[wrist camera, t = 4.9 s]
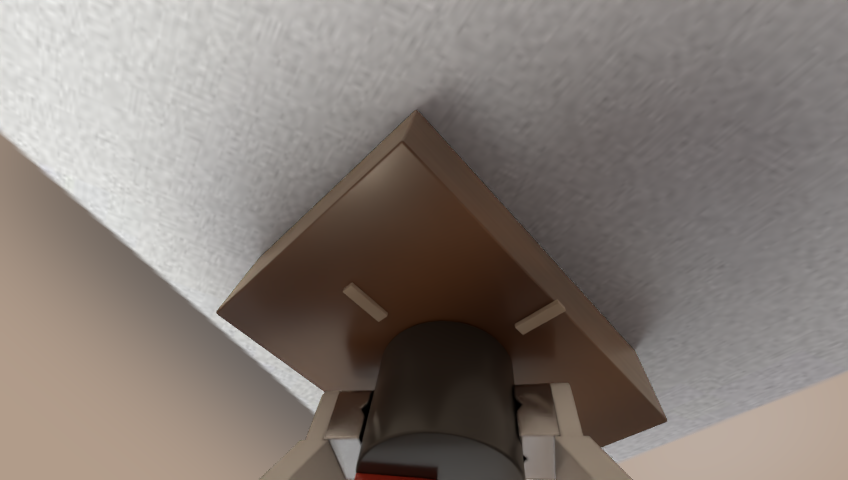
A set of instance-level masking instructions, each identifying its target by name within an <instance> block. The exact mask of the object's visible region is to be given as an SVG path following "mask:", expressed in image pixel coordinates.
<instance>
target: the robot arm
mask: <svg viewBox="0 0 848 480" xmlns="http://www.w3.org/2000/svg"><path fill="white" fill-rule="evenodd" d="M513 386H514V396H515V403H516V406H517V410H518V411H517V412H516V413H517V423H518V432H519V441H520V443H521V446H522V452H523V460H524V468H525V477H526V479H533V480H633V479H632V478H631V477H630V476H629V475H628V474H627V473H626V472H625V471H624V470H623V469H622V468H620V466H619V465H618V464H617V463H616V462H615V461H614V460H613V459H612V458H611V457H610V456H609V455H608V454H607V453H606V452H605V451H604V450H603V449H602V448H601V447H600V446H599V445H598V444H597V443H596V442H595V441H594V440H593V439H592V438H591V437H590V436H583V433H582V429H581V425H580V422H579V418H578V414H577V410H576V406H575V402H574V398H573V394H572V391H571V387H570V385H569V383H550V384H549V383H541V384H520V385H513ZM373 394H374V390H357V391H325V393H324V394H323V395H322V397H321V400H320V402H319V405H318V407H317V410H316V413H315V415H314V418H313V421H312V423H311V426H310V429H309V431H308V434H307V436H306V439H305V440H300V441H299V442H298V443H297V444H296V445H295V446H294V447H293V448H292V449H291V450H290V451H289V452H287V453H286V455H285V456H283V457H282V458H281V459H280V460H279V461H278V462H277V463H276V464H275V465H274V466H273V467H272V468H271V469H269V470H268V471H267V472H266V473H265V474H264V475H263V476H262V477H261V478H260V479H259V480H354V479H355V475H356V465H357V460H358V456H359V452H360V448H361V443H362V439H363V435H364V431H365V427H366V423H367V418H368V414H369V410H370V406H371V402H372V398H373Z"/></svg>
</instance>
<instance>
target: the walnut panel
mask: <svg viewBox="0 0 848 480" xmlns="http://www.w3.org/2000/svg"><path fill="white" fill-rule="evenodd" d="M216 313H217V314H218V315H219V316H221V317H222V318H223V319H225V320H226V321H227V322H229V323H230V324H232V325H233V326H234V327H236V328H237V329H238V330H240V331H241V332H243V333H244V334H245V335H247V336H248V337H250V338H251V339H252V340H254V341H255V342H256V343H258V344H259V345H261V346H262V347H263V348H265V349H266V350H268V351H269V352H270V353H272V354H273V355H274V356H276V357H277V358H279V359H280V360H281V361H283V362H284V363H286V364H287V365H288V366H290V367H291V368H292V369H294V370H295V371H297V372H298V373H299V374H301V375H302V376H303V377H305V378H306V379H308V380H309V381H310V382H312V383H313V384H315V385H316V386H317V387H319V388H320V389H321V390H323V391H324V392H325V391H357V390H374V389H375V385H376V381H377V377H378V373H379V369H380V365H381V360H382V356H383V353H384V351H385V349H386V347H387V346H388V344H389V343H390V342H391V341H392V339H393V338H395V337H396V336H397V335H398V334H399V333H401V332H403V331H404V330H406V329H408V328H410V327H412V326H415V325H418V324H422V323H427V322H434V321H451V322H458V323H463V324H467V325H470V326H474V327H476V328H478V329H481V330H483V331H484V332H486V333H488V334H490V335H491V336H492V337H494V338H495V339H496V340H497V341H498V342H499V343H500V344H501V345H502V346H503V347H504V348H505V350H506V351H507V353H508V355H509V357H510V359H511V362H512V366H513V374H514V382H515V385H520V384H541V383H549V384H550V383H569V385H570V387H571V391H572V394H573V398H574V402H575V406H576V410H577V414H578V418H579V422H580V425H581V429H582V433H583V436H590V437H591V438H592V439H593V440H594V441H595V442H596V443H597V444H598V445H599V446H600V447H604V446H606V445H609V444H611V443H614V442H616V441H619V440H621V439H624V438H627V437H629V436H632V435H634V434H637V433H639V432H642V431H644V430H647V429H650V428H652V427H655V426H657V425H660V424H662V423H665V422H667V418H666V416H665V414H664V412H663V409H662V407H661V405H660V403H659V401H658V399H657V397H656V394H655V392H654V390H653V388H652V386H651V384H650V382H649V379H648V377H647V375H646V373H645V371H644V369H643V367H642V364H641V362H640V360H639V358H638V356H637V354H636V352H635V351H634V349H633V348H632V347H631V346H630V345H629V344H628V343H627V342H626V341H625V340H624V338H623V337H622V336H621V335H620V334H619V333H618V332H617V331H616V330H615V328H614V327H613V326H612V325H611V324H610V323H609V322H608V321H607V320H606V318H605V317H604V316H603V315H602V314H601V313H600V312H599V311H598V310H597V308H596V307H595V306H594V305H593V304H592V303H591V302H590V301H589V300H588V299H587V297H586V296H585V295H584V294H583V293H582V292H581V291H580V290H579V289H578V287H577V286H576V285H575V284H574V283H573V282H572V281H571V280H570V279H569V277H568V276H567V275H566V274H565V273H564V272H563V271H562V270H561V269H560V268H559V266H558V265H557V264H556V263H555V262H554V261H553V260H552V259H551V258H550V256H549V255H548V254H547V253H546V252H545V251H544V250H543V249H542V248H541V246H540V245H539V244H538V243H537V242H536V241H535V240H534V239H533V238H532V236H531V235H530V234H529V233H528V232H527V231H526V230H525V229H524V228H523V227H522V225H521V224H520V223H519V222H518V221H517V220H516V219H515V218H514V217H513V215H512V214H511V213H510V212H509V211H508V210H507V209H506V208H505V207H504V205H503V204H502V203H501V202H500V201H499V200H498V199H497V198H496V197H495V196H494V194H493V193H492V192H491V191H490V190H489V189H488V188H487V187H486V186H485V184H484V183H483V182H482V181H481V180H480V179H479V178H478V177H477V176H476V174H475V173H474V172H473V171H472V170H471V169H470V168H469V167H468V166H467V164H466V163H465V162H464V161H463V160H462V159H461V158H460V157H459V156H458V155H457V153H456V152H455V151H454V150H453V149H452V148H451V147H450V146H449V145H448V143H447V142H446V141H445V140H444V139H443V138H442V137H441V136H440V135H439V133H438V132H437V131H436V130H435V129H434V128H433V127H432V126H431V125H430V124H429V122H428V121H427V120H426V119H425V118H424V117H423V116H422V115H421V114H420V112H419V111H417V110H415V111H414V112H413V113H412V114H411V115H410V116H409V117H408V118H406V119H405V120H404V121H403V122H402V123H401V124H400V125H399V126H398V127H397V128H396V129H395V130H394V131H393V132H392V133H391V134H390V135H389V136H387V137H386V138H385V139H384V140H383V141H382V142H381V143H380V144H379V145H378V146H377V147H376V148H375V149H374V150H373V151H372V152H371V153H370V154H369V155H367V156H366V157H365V158H364V159H363V160H362V161H361V162H360V163H359V164H358V165H357V166H356V167H355V168H354V169H353V170H352V171H351V172H350V173H349V174H347V175H346V176H345V177H344V178H343V179H342V180H341V181H340V182H339V183H338V184H337V185H336V186H335V187H334V188H333V189H332V190H331V191H330V192H328V193H327V194H326V195H325V196H324V197H323V198H322V199H321V200H320V201H319V202H318V203H317V204H316V205H315V206H314V207H313V208H312V209H311V210H310V211H308V212H307V213H306V214H305V215H304V216H303V217H302V218H301V219H300V220H299V221H298V222H297V223H296V224H295V225H294V226H293V227H292V228H291V229H289V230H288V231H287V232H286V233H285V234H284V235H283V236H282V237H281V238H280V239H279V240H278V241H277V242H276V243H275V244H274V245H273V246H272V247H271V248H269V249H268V250H267V251H266V252H265V253H264V254H263V255H262V256H261V257H260V258H259V259H258V260H257V261H256V263H255V264H254V265H253V266H252V268H251V269H250V270H249V271H248V273H247V274H246V275H245V276H244V278H243V279H242V280H241V281H240V283H239V284H238V285H237V286H236V288H235V289H234V290H233V291H232V293H231V294H230V295H229V296H228V298H227V299H226V300H225V301H224V303H223V304H222V305H221V306H220V308H219V309H218V310H217V312H216Z"/></svg>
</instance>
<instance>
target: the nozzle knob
mask: <svg viewBox="0 0 848 480" xmlns="http://www.w3.org/2000/svg"><path fill="white" fill-rule="evenodd" d="M513 385H515V382H514V374H513V366H512V362H511V359H510V357H509V355H508V353H507V351H506V350H505V348H504V347H503V346H502V345H501V344H500V343H499V342H498V341H497V340H496V339H495V338H494V337H492V336H491V335H490V334H488V333H486V332H484V331H483V330H481V329H478V328H476V327H474V326H470V325H467V324H463V323H458V322H451V321H434V322H427V323H422V324H418V325H415V326H412V327H410V328H408V329H406V330H404V331H403V332H401V333H399V334H398V335H397V336H396V337H395V338H393V339H392V341H391V342H390V343H389V344H388V346H387V347H386V349H385V351H384V353H383V356H382V360H381V365H380V369H379V373H378V377H377V381H376V385H375V389H374V394H373V398H372V402H371V406H370V410H369V414H368V418H367V423H366V427H365V431H364V435H363V439H362V443H361V448H360V452H359V456H358V460H357V465H356V475H355V479H354V480H526V477H525V468H524V460H523V452H522V446H521V443H520V441H519V432H518V423H517V413H516V412H517V411H518V410H517V406H516V403H515V396H514V386H513Z"/></svg>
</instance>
